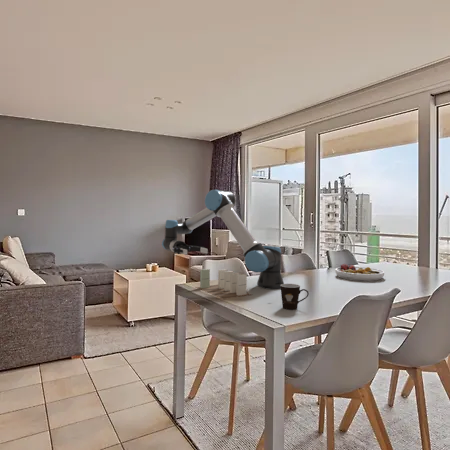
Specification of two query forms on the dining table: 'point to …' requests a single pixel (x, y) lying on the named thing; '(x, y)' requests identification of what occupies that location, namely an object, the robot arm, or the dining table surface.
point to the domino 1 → (205, 278)
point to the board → (221, 292)
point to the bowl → (359, 273)
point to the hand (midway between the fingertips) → (197, 251)
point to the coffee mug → (291, 296)
